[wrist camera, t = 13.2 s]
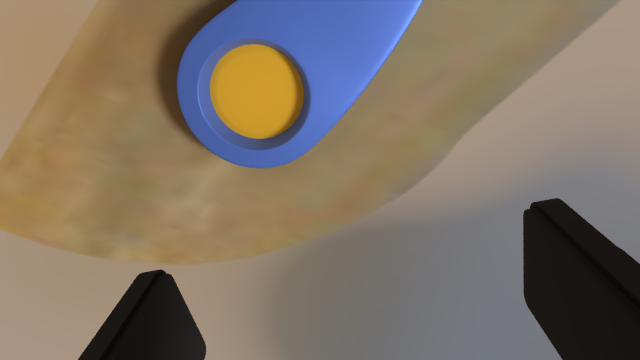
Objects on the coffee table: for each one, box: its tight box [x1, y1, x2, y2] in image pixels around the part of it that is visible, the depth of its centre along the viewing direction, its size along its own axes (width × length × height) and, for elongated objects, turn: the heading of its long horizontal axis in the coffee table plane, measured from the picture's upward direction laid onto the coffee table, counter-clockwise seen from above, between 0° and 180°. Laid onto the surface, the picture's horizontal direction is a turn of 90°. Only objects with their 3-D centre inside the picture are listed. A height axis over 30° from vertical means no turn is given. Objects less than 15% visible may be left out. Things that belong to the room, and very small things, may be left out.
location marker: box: [177, 0, 423, 168], centre depth 31 cm, size 13×3×25 cm
